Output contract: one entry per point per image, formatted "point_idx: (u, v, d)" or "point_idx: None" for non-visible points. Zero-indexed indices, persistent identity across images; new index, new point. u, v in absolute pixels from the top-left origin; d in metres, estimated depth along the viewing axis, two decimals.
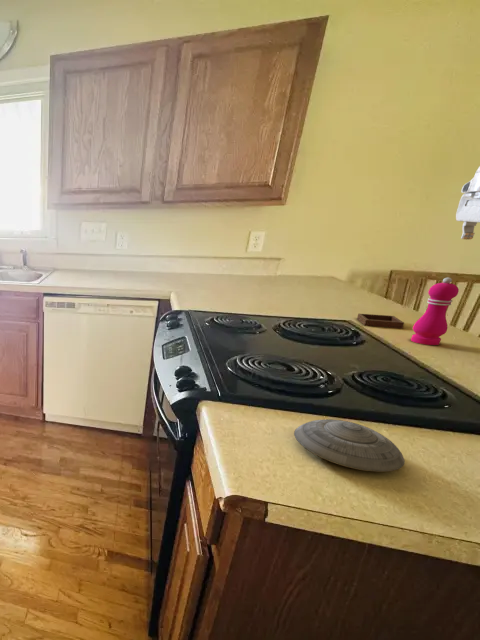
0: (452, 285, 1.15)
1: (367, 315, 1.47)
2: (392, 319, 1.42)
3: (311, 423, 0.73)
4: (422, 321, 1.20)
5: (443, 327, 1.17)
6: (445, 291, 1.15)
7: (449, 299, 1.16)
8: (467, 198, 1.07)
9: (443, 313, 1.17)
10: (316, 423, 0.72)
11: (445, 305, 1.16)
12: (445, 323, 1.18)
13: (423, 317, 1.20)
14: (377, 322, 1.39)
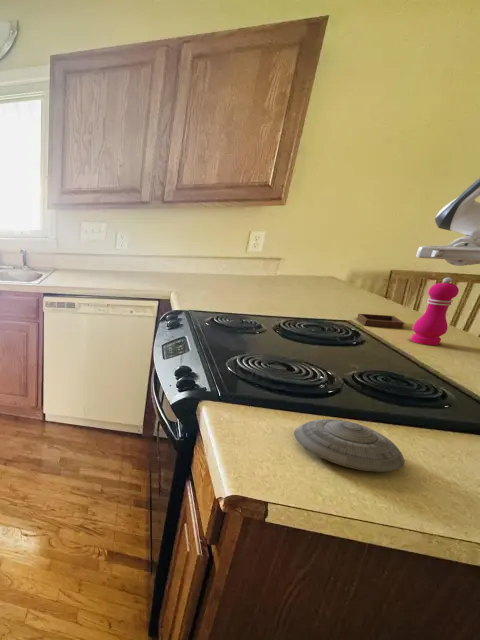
0: (452, 285, 1.15)
1: (367, 315, 1.47)
2: (392, 319, 1.42)
3: (311, 423, 0.73)
4: (422, 321, 1.20)
5: (443, 327, 1.17)
6: (445, 291, 1.15)
7: (449, 299, 1.16)
8: None
9: (443, 313, 1.17)
10: (316, 423, 0.72)
11: (445, 305, 1.16)
12: (445, 323, 1.18)
13: (423, 317, 1.20)
14: (377, 322, 1.39)
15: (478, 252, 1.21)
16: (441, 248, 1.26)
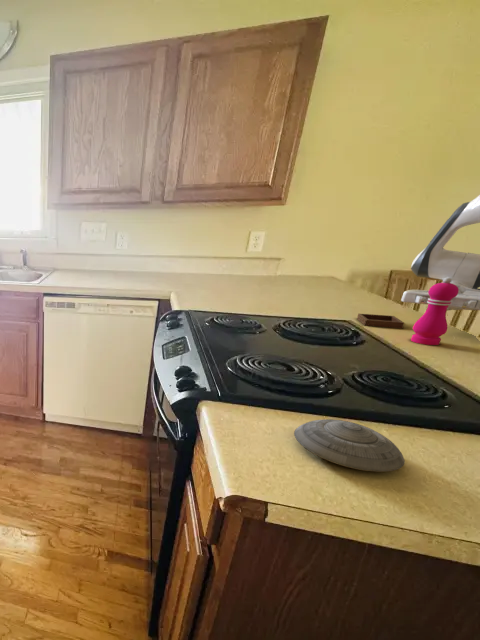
0: (452, 285, 1.15)
1: (367, 315, 1.47)
2: (392, 319, 1.42)
3: (311, 423, 0.73)
4: (422, 321, 1.20)
5: (443, 327, 1.17)
6: (445, 291, 1.15)
7: (449, 299, 1.16)
8: None
9: (443, 313, 1.17)
10: (316, 423, 0.72)
11: (445, 305, 1.16)
12: (445, 323, 1.18)
13: (423, 317, 1.20)
14: (377, 322, 1.39)
15: (460, 299, 1.24)
16: (425, 294, 1.29)
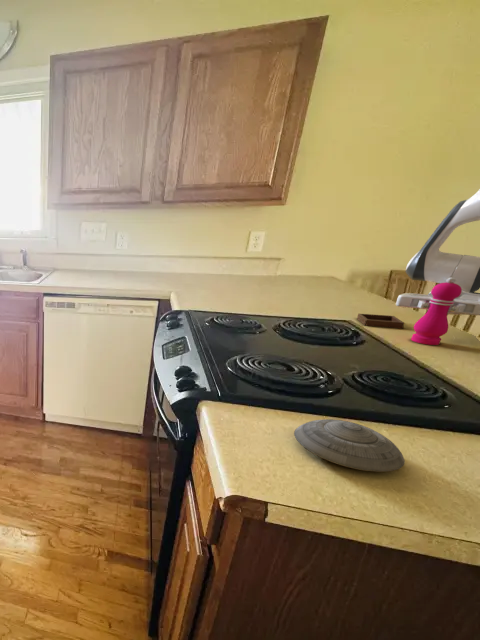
0: (455, 285, 1.14)
1: (367, 315, 1.47)
2: (392, 319, 1.42)
3: (311, 423, 0.73)
4: (424, 321, 1.20)
5: (444, 327, 1.17)
6: (448, 291, 1.14)
7: (452, 299, 1.15)
8: None
9: (445, 313, 1.17)
10: (316, 423, 0.72)
11: (447, 305, 1.16)
12: (446, 323, 1.17)
13: (425, 317, 1.20)
14: (377, 322, 1.39)
15: (457, 304, 1.19)
16: (420, 298, 1.24)
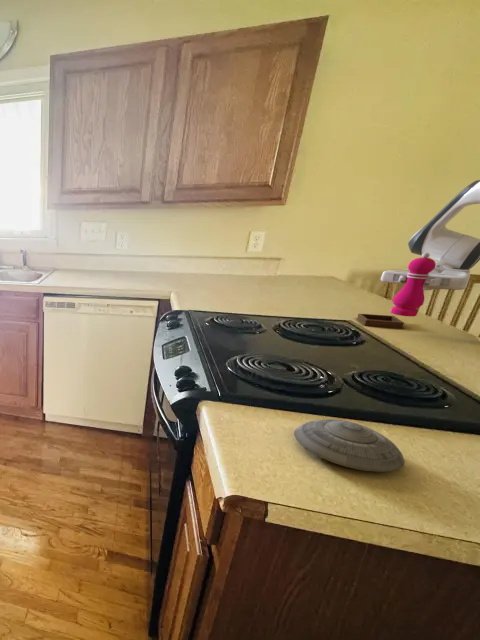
0: (429, 260, 1.23)
1: (367, 315, 1.47)
2: (392, 319, 1.42)
3: (311, 423, 0.73)
4: (400, 294, 1.29)
5: (419, 299, 1.26)
6: (421, 265, 1.23)
7: (425, 273, 1.24)
8: None
9: (420, 286, 1.26)
10: (316, 423, 0.72)
11: (421, 278, 1.25)
12: (421, 296, 1.26)
13: (402, 290, 1.29)
14: (377, 322, 1.39)
15: None
16: (402, 273, 1.32)
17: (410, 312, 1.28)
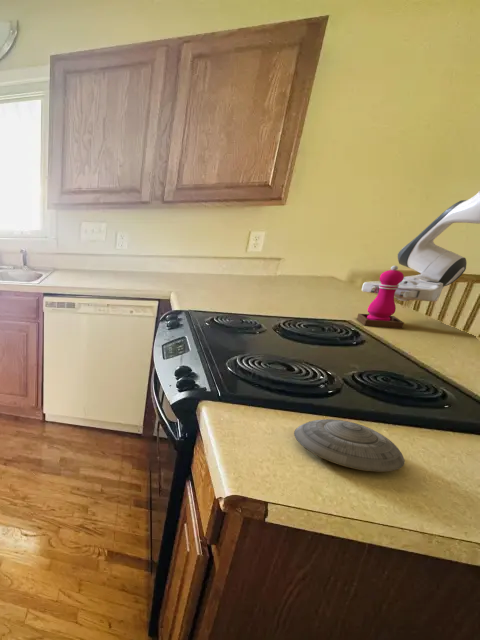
0: (396, 272, 1.35)
1: (367, 315, 1.47)
2: (392, 319, 1.42)
3: (311, 423, 0.73)
4: (373, 303, 1.41)
5: (388, 308, 1.37)
6: (388, 276, 1.35)
7: (394, 284, 1.36)
8: None
9: (389, 296, 1.37)
10: (316, 423, 0.72)
11: (390, 289, 1.36)
12: (391, 305, 1.37)
13: (374, 299, 1.41)
14: (377, 322, 1.39)
15: (407, 290, 1.37)
16: None
17: (381, 320, 1.39)
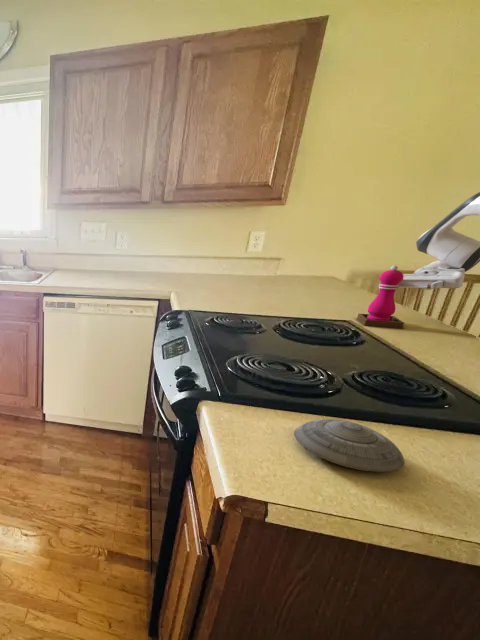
0: (396, 272, 1.35)
1: (367, 315, 1.47)
2: (392, 319, 1.42)
3: (311, 423, 0.73)
4: (373, 303, 1.41)
5: (388, 308, 1.37)
6: (388, 276, 1.35)
7: (394, 284, 1.36)
8: None
9: (389, 296, 1.37)
10: (316, 423, 0.72)
11: (390, 289, 1.36)
12: (391, 305, 1.37)
13: (374, 299, 1.41)
14: (377, 322, 1.39)
15: (431, 281, 1.40)
16: None
17: (381, 320, 1.39)
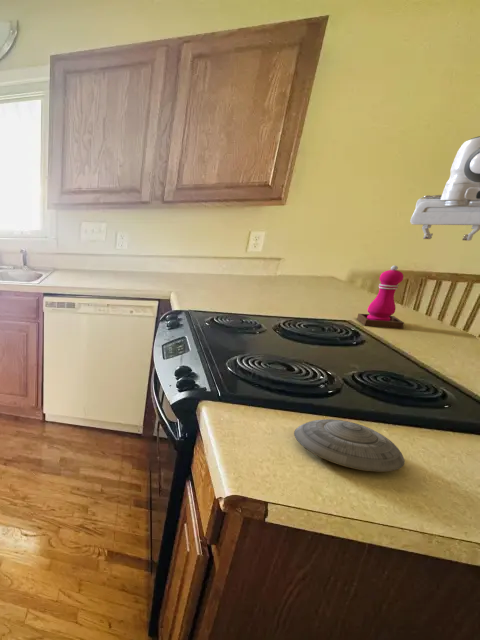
0: (396, 272, 1.35)
1: (367, 315, 1.47)
2: (392, 319, 1.42)
3: (311, 423, 0.73)
4: (373, 303, 1.41)
5: (388, 308, 1.37)
6: (388, 276, 1.35)
7: (394, 284, 1.36)
8: None
9: (389, 296, 1.37)
10: (316, 423, 0.72)
11: (390, 289, 1.36)
12: (391, 305, 1.37)
13: (374, 299, 1.41)
14: (377, 322, 1.39)
15: None
16: (429, 224, 1.31)
17: (381, 320, 1.39)
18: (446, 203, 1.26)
